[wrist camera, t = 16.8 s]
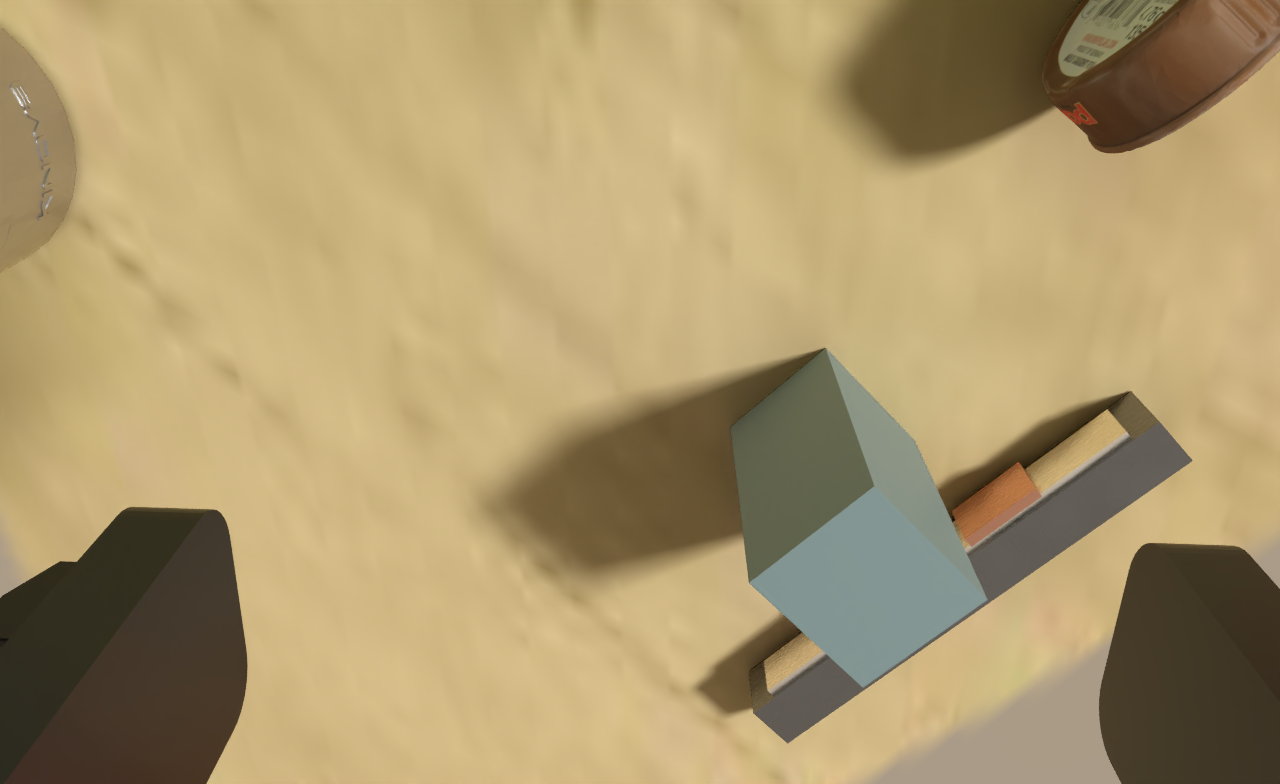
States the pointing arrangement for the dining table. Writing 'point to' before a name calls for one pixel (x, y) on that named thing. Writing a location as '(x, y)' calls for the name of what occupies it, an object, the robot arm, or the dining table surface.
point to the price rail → (997, 543)
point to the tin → (1154, 63)
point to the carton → (847, 522)
